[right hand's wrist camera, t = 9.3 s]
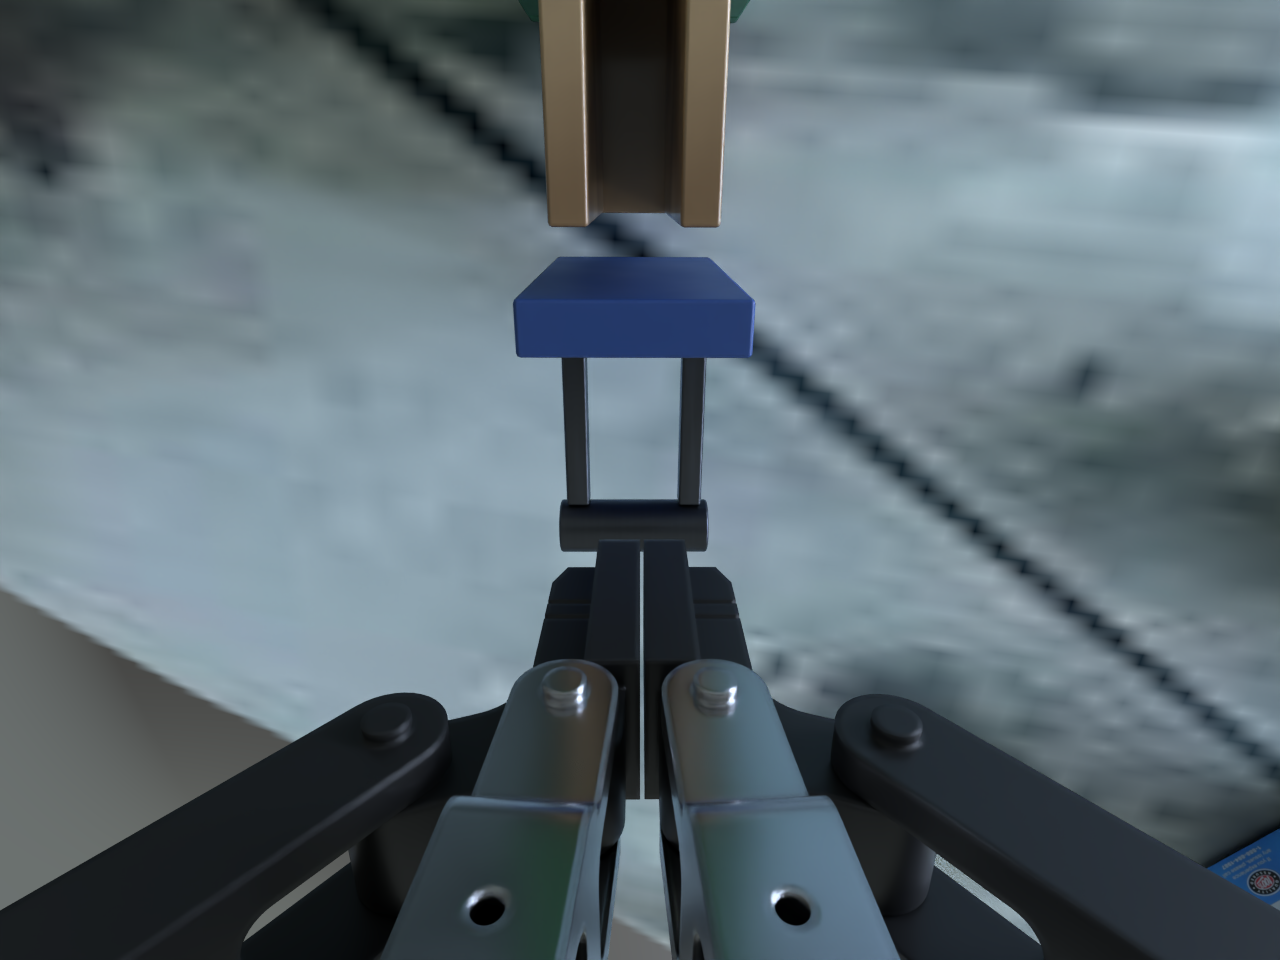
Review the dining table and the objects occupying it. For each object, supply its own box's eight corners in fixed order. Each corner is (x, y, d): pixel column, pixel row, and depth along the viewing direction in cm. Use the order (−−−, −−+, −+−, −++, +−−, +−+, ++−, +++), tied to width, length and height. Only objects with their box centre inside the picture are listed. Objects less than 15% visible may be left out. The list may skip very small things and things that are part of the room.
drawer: (701, 469, 25) (735, 610, 17) (565, 469, 25) (532, 610, 17) (744, -593, 16) (875, -1503, 7) (523, -597, 16) (394, -1520, 7)
